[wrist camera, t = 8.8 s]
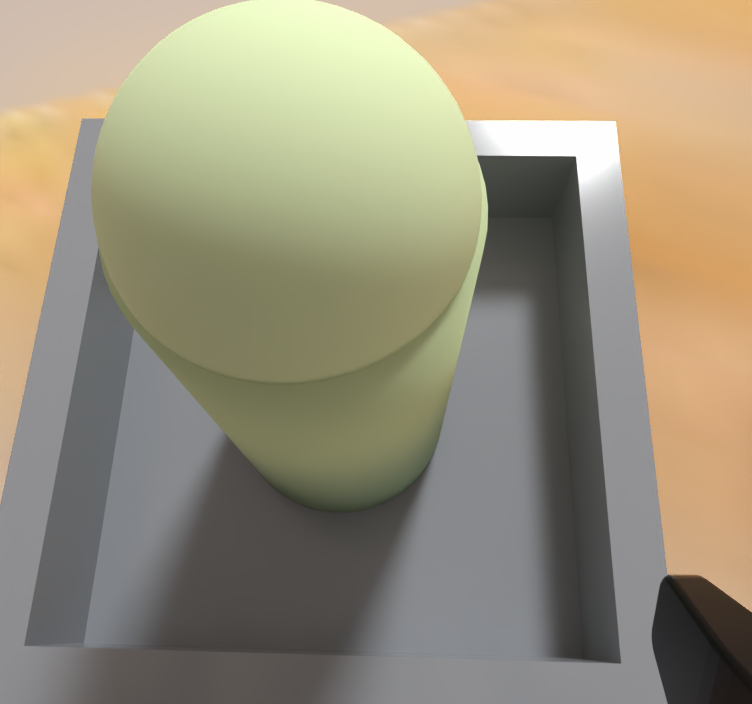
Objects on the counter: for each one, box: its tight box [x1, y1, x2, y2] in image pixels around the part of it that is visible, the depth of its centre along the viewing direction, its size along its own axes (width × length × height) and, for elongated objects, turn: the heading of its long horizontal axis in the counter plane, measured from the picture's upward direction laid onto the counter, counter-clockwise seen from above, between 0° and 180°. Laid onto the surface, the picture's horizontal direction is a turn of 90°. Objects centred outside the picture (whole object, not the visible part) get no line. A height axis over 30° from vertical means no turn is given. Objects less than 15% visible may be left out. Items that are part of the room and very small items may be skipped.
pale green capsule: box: [91, 0, 488, 512], centre depth 13 cm, size 5×5×13 cm
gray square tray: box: [0, 119, 667, 704], centre depth 18 cm, size 14×14×4 cm
